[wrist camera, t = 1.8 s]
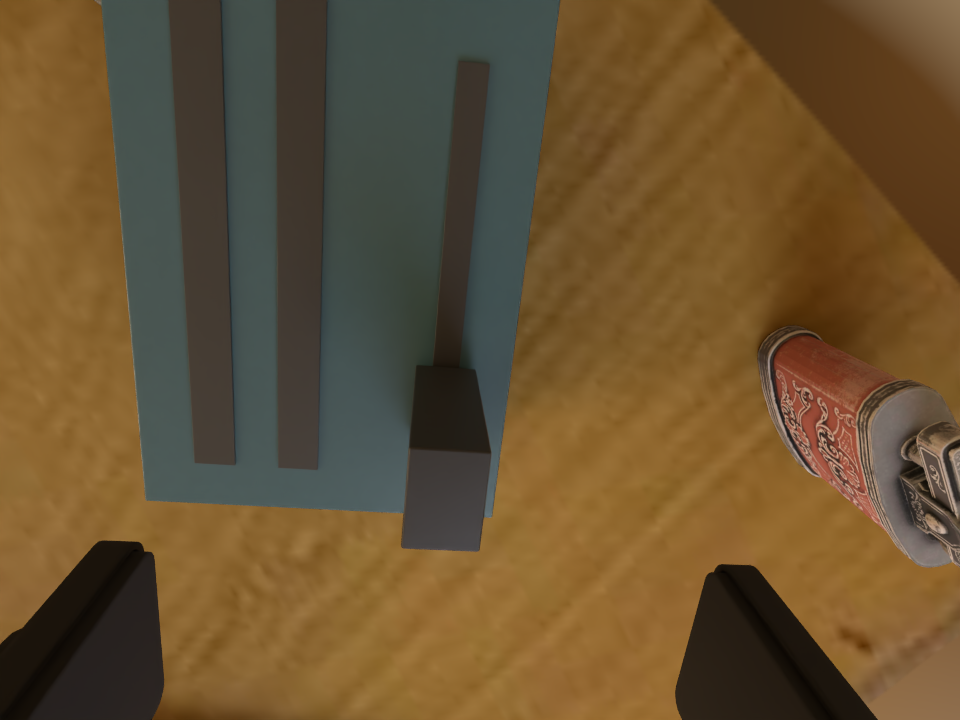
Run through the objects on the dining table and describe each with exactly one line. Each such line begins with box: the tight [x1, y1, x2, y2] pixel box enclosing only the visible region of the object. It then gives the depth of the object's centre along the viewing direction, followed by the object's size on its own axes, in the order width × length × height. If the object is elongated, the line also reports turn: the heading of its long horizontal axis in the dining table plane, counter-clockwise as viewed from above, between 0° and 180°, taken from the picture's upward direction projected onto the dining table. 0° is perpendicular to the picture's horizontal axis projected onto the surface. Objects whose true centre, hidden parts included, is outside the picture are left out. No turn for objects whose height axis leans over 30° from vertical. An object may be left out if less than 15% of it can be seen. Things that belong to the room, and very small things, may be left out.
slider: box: [401, 365, 492, 552], centre depth 16 cm, size 2×3×5 cm
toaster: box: [101, 0, 560, 518], centre depth 20 cm, size 11×16×8 cm
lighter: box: [758, 326, 960, 567], centre depth 23 cm, size 8×3×10 cm, turn 28°
